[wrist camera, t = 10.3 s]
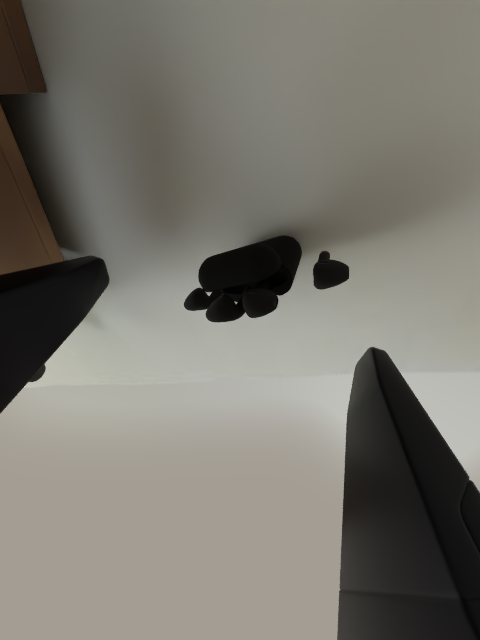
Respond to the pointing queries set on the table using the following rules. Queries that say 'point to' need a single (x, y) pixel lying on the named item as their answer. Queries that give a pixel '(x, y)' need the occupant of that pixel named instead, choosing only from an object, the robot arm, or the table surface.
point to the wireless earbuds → (256, 279)
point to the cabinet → (17, 53)
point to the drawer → (21, 216)
